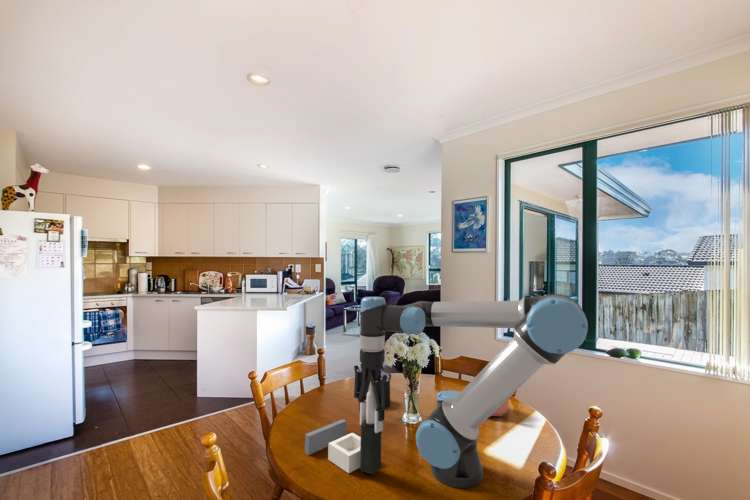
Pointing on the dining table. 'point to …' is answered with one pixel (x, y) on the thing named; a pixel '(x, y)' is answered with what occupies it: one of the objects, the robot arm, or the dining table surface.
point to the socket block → (345, 452)
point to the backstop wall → (324, 436)
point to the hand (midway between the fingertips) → (371, 427)
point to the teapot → (501, 409)
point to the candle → (370, 438)
